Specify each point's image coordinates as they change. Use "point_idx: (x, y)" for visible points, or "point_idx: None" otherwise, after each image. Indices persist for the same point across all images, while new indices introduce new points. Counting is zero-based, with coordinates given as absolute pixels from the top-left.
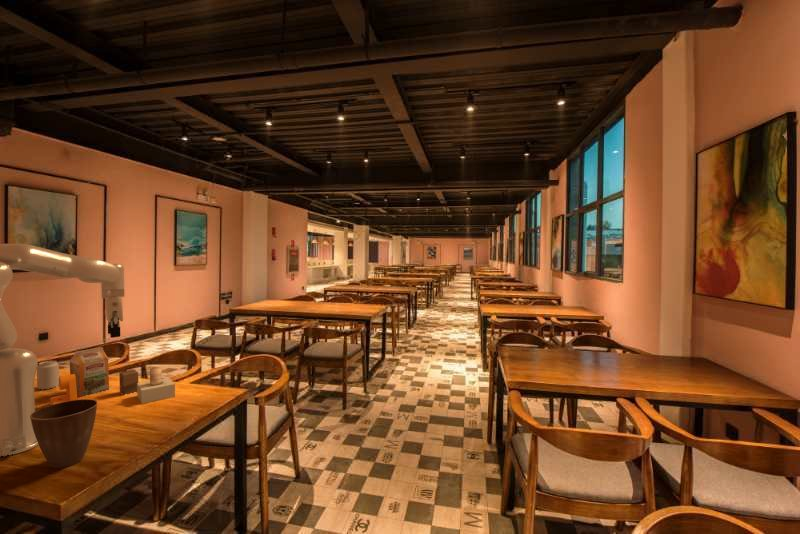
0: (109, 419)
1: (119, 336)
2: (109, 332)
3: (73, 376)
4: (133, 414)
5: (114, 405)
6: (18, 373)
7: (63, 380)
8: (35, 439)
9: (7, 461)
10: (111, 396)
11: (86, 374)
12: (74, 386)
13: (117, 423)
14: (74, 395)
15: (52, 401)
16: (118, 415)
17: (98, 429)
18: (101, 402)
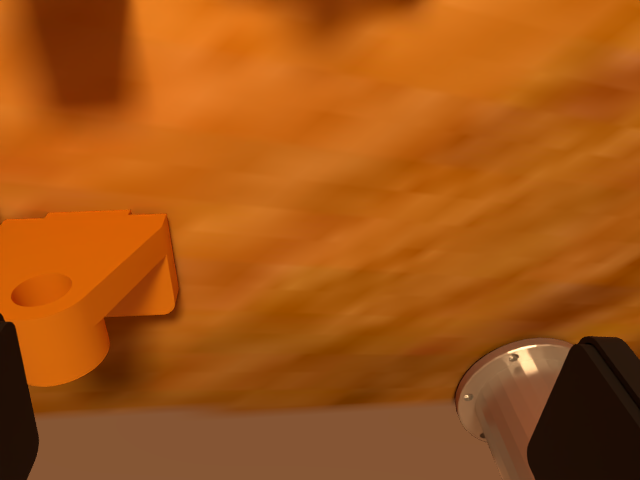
0: (541, 124)
1: (610, 346)
2: (26, 459)
3: (62, 321)
4: (587, 9)
5: (321, 58)
6: None
7: (92, 356)
8: (550, 360)
9: None
10: (99, 34)
11: None
12: (115, 279)
13: (637, 105)
14: (148, 251)
15: (109, 315)
16: (523, 77)
17: (625, 182)
18: (197, 105)
